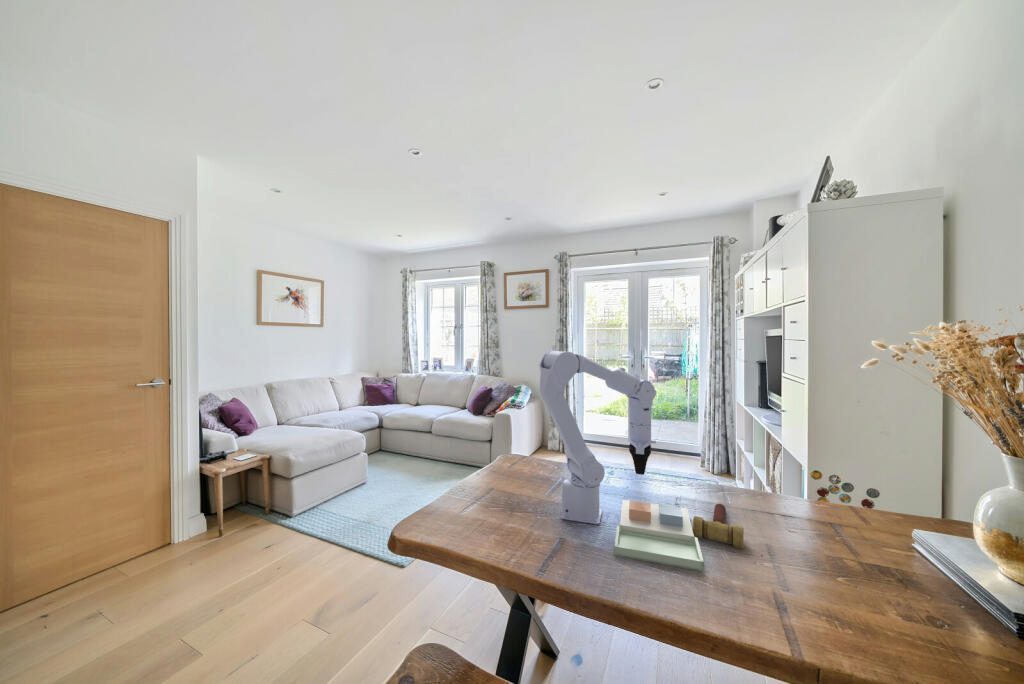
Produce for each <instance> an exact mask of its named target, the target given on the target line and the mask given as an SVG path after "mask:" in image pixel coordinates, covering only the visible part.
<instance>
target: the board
mask: <svg viewBox="0 0 1024 684" xmlns="http://www.w3.org/2000/svg"><path fill="white" fill-rule="evenodd" d="M630 501H631V500H626V499H622V503H621V510H620V511H621V512H620V521H619V526H620V531H626V532H632V533H638V534H644V535H650V536H657V537H663V538H669V539H675V540H681V541H688V542H694V534H693V525H692V523H691V520H690V516H689V511H688V508H686V507H681V511H682V516H683V527H677V526H671V525H664V524H660V521H659V504H656V503H655V504H654V503H650V505H651V522H644V521H637V520H631V519H629V503H630Z"/></svg>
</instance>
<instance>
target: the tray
mask: <svg viewBox="0 0 1024 684" xmlns="http://www.w3.org/2000/svg"><path fill="white" fill-rule="evenodd" d="M615 532H616V533H615V539H614V556H616V557H621V558H627V559H631V560H637V561H638V560H639V561H643V562H647V563H648V562H649V563H653V564H654V563H655V564H660V565H665V566H668V567H669V566H670V567H675V568H682V569H686V570H692V571H697V572H702V573H703V572H705V561H704V558H703V554H702V550H701V546H700V542H699V538H697V537H694V542H688V541H681V540H675V539H669V538H663V537H657V536H650V535H644V534H638V533H632V532H626V531H620V524H619V525H616V531H615Z"/></svg>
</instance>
